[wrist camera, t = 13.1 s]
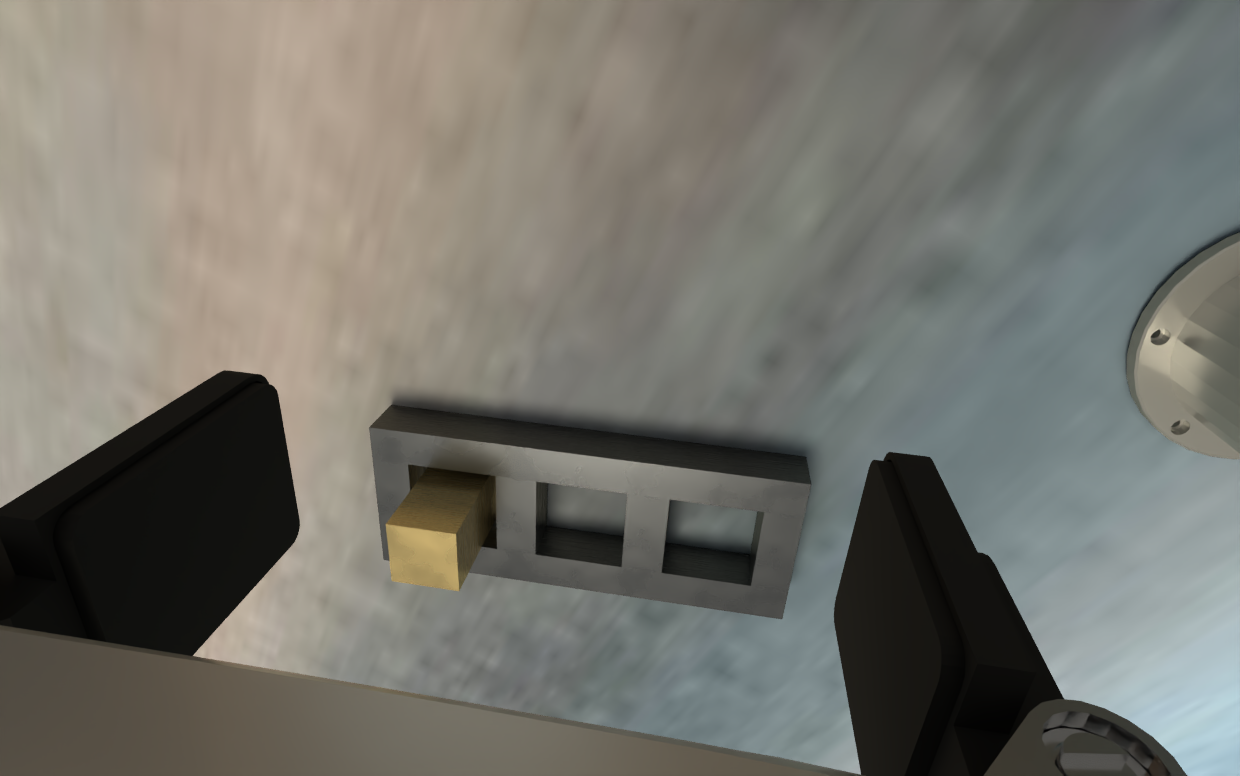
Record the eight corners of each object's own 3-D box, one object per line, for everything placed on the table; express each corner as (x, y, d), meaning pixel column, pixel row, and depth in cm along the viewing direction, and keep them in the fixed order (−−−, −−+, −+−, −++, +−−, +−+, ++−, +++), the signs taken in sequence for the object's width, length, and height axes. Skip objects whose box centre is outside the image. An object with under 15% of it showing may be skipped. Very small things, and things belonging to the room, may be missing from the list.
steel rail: (806, 457, 42) (811, 484, 39) (779, 586, 46) (782, 619, 44) (391, 405, 45) (369, 427, 42) (402, 532, 49) (383, 559, 46)
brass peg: (499, 458, 45) (455, 534, 38) (501, 509, 47) (459, 591, 40) (440, 450, 46) (385, 524, 38) (443, 501, 47) (391, 580, 40)
